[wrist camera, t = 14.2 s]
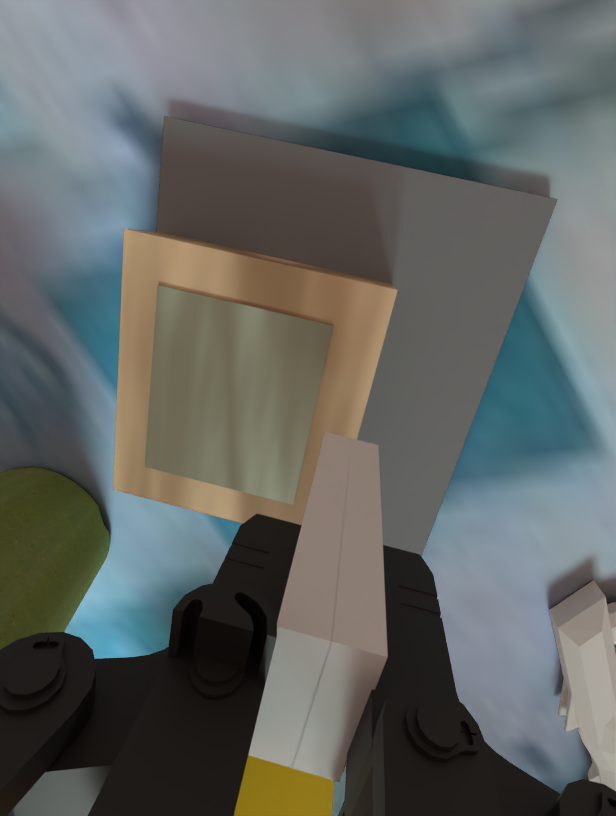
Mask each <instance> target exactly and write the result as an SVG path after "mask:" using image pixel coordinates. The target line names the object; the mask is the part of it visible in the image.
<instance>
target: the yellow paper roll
mask: <svg viewBox="0 0 616 816" xmlns="http://www.w3.org/2000/svg"><path fill="white" fill-rule="evenodd" d="M333 792H334V780H331V779H327V778H324V777H321V776H317V775H314V774H310V773H307V772H304V771H300V770H297V769H294V768H290V767H287V766H283V765H280V764H277V763H273V762H270V761H267V760H263V759H260V758H256V757H253V756H250V755H248V758H247V763H246V767H245V771H244V775H243V779H242V783H241V787H240V792H239V796H238V800H237V804H236V808H235V812H234V816H332V807H333Z"/></svg>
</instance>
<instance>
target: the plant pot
mask: <svg viewBox="0 0 616 816" xmlns="http://www.w3.org/2000/svg"><path fill="white" fill-rule="evenodd" d="M109 545H110V536H109V531H108V530H107V529H106V527H105V525H104V523H103V521H102V518H101V514H100V510H99V507H98V505H97V504H96V502H95V501H94V500H93V499H92V497H91V496H90V495H89V494H88V493H87V492H86V491H84V490H83V489H82V488H81V487H80V486H79V485H77V484H76V483H75V482H73V481H72V480H70V479H68V478H66V477H64V476H63V475H61V474H58V473H56V472H53V471H50V470H47V469H43V468H37V467H29V468H20V469H12V470H7V471H4V472H1V473H0V650H1V649H2V648H4V647H6V646H7V645H9V644H11V643H12V642H14V641H16V640H18V639H21V638H25V637H28V636H31V635H34V634H38V633H44V632H64V631H65V629H66V627H67V626H68V624H69V622H70V620H71V619H72V617H73V615H74V613H75V612H76V610H77V608H78V606H79V605H80V603H81V601H82V599H83V598H84V596H85V594H86V592H87V591H88V589H89V587H90V585H91V584H92V582H93V580H94V578H95V577H96V575H97V573H98V571H99V570H100V568H101V566H102V564H103V563H104V561H105V559H106V557H107V554H108V551H109Z"/></svg>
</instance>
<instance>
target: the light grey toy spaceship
mask: <svg viewBox="0 0 616 816" xmlns="http://www.w3.org/2000/svg"><path fill="white" fill-rule="evenodd" d="M549 612H550V617H551V621H552V626H553V631H554V635H555V640H556V645H557V649H558V654H559V658H560V663H561V668H562V672H563V677H564V680H563V686H562V692H561V699H560V705H559V711H558V715H559V716H566V720H565V732H568V731H570V730H573V729H575V728H577V730H578V733H579V735H580V737H581V740H582V742H583V743H584V745H585V746H586V748H587V750H588V751H589V753H590V754H591V759H592V764H591V767H590V769H589V771H588V778H589V781H593V782H597V783H601V784H605V785H606V786H608V787H610V788H611V789H613V790H615V791H616V653H615V647H614V644H616V602H613V603H610V604H607V602H606V597H605V595H604V594H603V592H602V591H601V589H600V588H599V587H598V585H597V584H596V582H595V581H594V580H593V581H592V582H590V583H589V584H587V585H586V586H584V587H583V588H581V589H580V590H578V591H577V592H575V593H574V594H572V595H571V596H569V597H568V598H566V599H565V600H563V601H562V602H560V603H559V604H557V605H556V606H554V607H553V608H551V609H550V610H549Z"/></svg>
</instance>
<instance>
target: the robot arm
mask: <svg viewBox="0 0 616 816" xmlns="http://www.w3.org/2000/svg"><path fill="white" fill-rule="evenodd" d="M440 614H441V612H440V607H439V602H438V600H437V592H436V587H435V582H434V576H433V574H432V572H431V571H430V569H429V568H428V566H427V564H426V563H425V561H424V560H423V558H422V557H421V555H420V554H416V553H412V552H409V551H405V550H401V549H397V548H393V547H390V546H386V545H383V538H382V514H381V491H380V468H379V445H376V444H372V443H368V442H364V441H360V440H356V439H352V438H348V437H344V436H340V435H336V434H332V433H328V432H325V435H324V439H323V443H322V447H321V451H320V455H319V459H318V463H317V467H316V471H315V475H314V479H313V482H312V486H311V490H310V494H309V498H308V502H307V506H306V510H305V514H304V518H303V522H302V525H299V524H295V523H292V522H288V521H284V520H280V519H276V518H273V517H269V516H265V515H261V514H255V515H254V516H253V517H251V518H250V519H249V520H247V521H246V522H245V523H243V524H242V525H241V526H240V528H239V530H238V532H237V534H236V536H235V538H234V540H233V542H232V546H231V547H230V549H229V551H228V553H227V555H226V557H225V560H224V561H223V563H222V565H221V567H220V570H219V572H218V574H217V576H216V578H215V580H214V582H213V584H208V585H203V586H201V587H199V588H197V589H195V590H193V591H192V592H190V593H188V594H186V595H185V596H184V597H183V598H182V600H181V601H180V602H179V603H178V604H177V605H176V607H175V608H174V609H173V616H172V624H171V632H170V640H169V647H168V648H166V649H164V650H162V651H159V652H156V653H153V654H150V655H145V656H138V657H128V658H105V659H94V654H93V650H92V649H91V648H90V647H89V646H88V645H87V644H86V643H85V642H84V641H83V640H82V639H81V638H79V637H76V636H73V635H70V634H67V633H64V632H44V633H38V634H34V635H31V636H28V637H25V638H21V639H18V640H16V641H14V642H12V643H11V644H9V645H7V646H6V647H4V648H2V649H1V650H0V816H234V812H235V808H236V804H237V800H238V796H239V792H240V787H241V783H242V779H243V775H244V771H245V767H246V763H247V758H248V755H250V756H253V757H256V758H260V759H263V760H267V761H270V762H273V763H277V764H280V765H283V766H287V767H290V768H294V769H297V770H300V771H304V772H307V773H310V774H314V775H317V776H321V777H324V778H327V779H331V780H334V781H338V782H339V781H340V779H341V776H342V774H343V771H344V768H345V766H346V785H345V801H344V803H343V806H342V808H341V811H340V813H339V815H338V816H616V791H615V790H613V789H611V788H610V787H608V786H606V785H605V784H601V783H597V782H593V781H589V780H585V779H582V780H579V781H576V782H572V783H569V784H567V786H566V787H565V788H564V790H563V791H562V793H561V794H559V793H558V792H556V791H554V790H553V789H551V788H550V787H548V786H546V785H545V784H543V783H542V782H540V781H538V780H537V779H535V778H534V777H532V776H530V775H529V774H527V773H526V772H524V771H522V770H521V769H519V768H518V767H516V766H514V765H513V764H511V763H510V762H508V761H507V760H506V759H504V758H503V757H502V756H500V755H499V754H498V753H496V752H495V751H494V750H493V749H492V748H491V747H490V746H489V745H488V744H487V743H486V742H485V741H484V739H483V736H482V734H481V731H480V728H479V726H478V724H477V723H476V721H475V720H474V718H473V717H472V716H471V714H470V713H469V712H468V710H467V709H466V708H465V706H464V705H463V704H462V703H461V702H459V699H458V696H457V693H456V688H455V683H454V678H453V673H452V668H451V663H450V658H449V653H448V648H447V643H446V638H445V632H444V627H443V622H442V618H440ZM346 763H347V764H346Z"/></svg>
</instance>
